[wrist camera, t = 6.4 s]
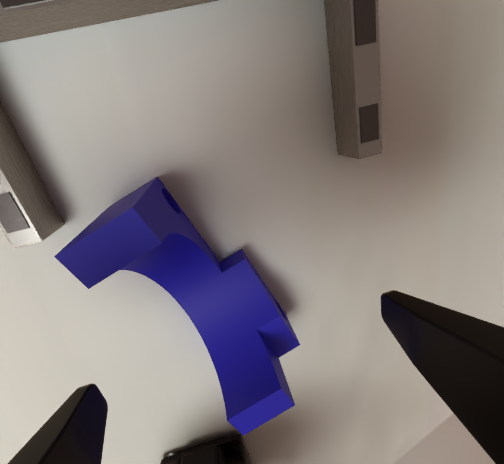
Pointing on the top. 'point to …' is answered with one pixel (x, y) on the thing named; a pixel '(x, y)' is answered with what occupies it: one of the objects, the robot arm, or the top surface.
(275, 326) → the cable clip
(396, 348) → the top surface
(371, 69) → the rail bay
